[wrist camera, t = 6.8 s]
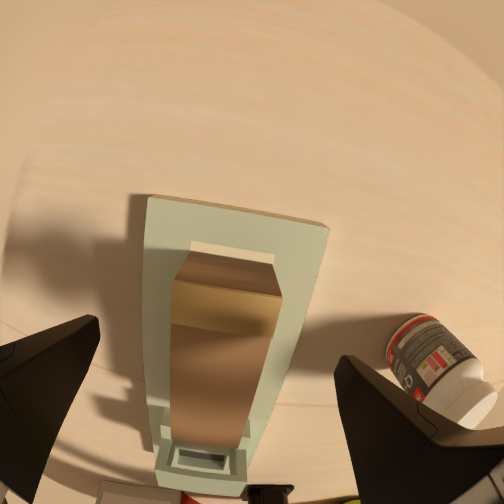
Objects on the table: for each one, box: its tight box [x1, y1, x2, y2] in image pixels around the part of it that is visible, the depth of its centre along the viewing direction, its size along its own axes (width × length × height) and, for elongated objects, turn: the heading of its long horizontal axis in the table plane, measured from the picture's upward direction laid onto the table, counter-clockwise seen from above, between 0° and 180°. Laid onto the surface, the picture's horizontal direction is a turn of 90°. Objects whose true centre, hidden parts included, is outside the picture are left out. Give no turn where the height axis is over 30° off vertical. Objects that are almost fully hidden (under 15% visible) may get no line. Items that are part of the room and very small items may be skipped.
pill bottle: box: [386, 315, 498, 430], centre depth 15 cm, size 6×6×10 cm
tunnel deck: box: [142, 195, 330, 497], centre depth 16 cm, size 28×10×7 cm, turn 169°
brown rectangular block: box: [170, 251, 283, 449], centre depth 14 cm, size 12×4×4 cm, turn 169°
